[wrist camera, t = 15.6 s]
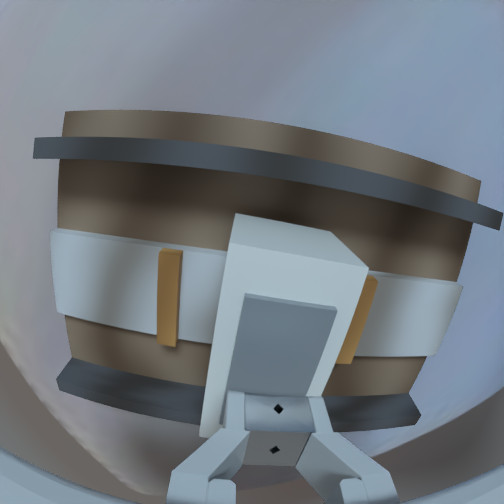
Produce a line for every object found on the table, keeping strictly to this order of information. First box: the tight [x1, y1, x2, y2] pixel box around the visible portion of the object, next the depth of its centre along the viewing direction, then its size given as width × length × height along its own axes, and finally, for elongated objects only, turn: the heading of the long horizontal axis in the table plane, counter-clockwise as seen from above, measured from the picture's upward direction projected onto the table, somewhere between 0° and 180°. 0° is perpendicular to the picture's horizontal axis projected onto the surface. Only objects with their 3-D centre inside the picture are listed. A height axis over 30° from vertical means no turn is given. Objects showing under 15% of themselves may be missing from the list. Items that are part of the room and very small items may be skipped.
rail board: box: [33, 110, 503, 432], centre depth 16 cm, size 24×18×4 cm
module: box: [199, 213, 369, 438], centre depth 13 cm, size 4×9×5 cm, turn 169°
